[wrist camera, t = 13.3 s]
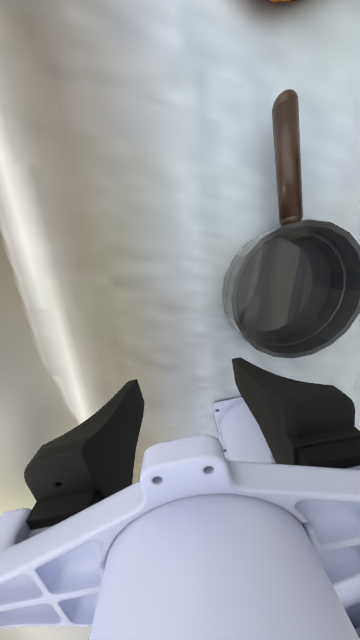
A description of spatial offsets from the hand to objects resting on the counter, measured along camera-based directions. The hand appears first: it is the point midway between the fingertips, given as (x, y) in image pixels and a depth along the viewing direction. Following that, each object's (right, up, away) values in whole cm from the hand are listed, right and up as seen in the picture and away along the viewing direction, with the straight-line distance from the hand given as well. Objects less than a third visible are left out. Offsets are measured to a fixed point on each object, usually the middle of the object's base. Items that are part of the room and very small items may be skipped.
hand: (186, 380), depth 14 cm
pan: (+11, +8, +8) cm, 16 cm away
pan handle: (+9, +18, +3) cm, 20 cm away
